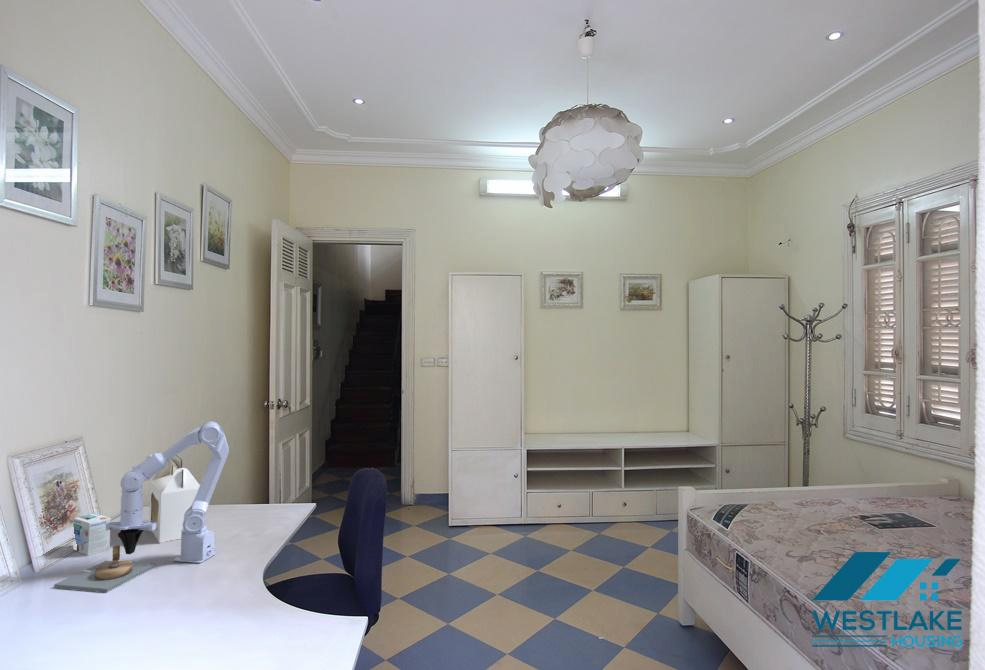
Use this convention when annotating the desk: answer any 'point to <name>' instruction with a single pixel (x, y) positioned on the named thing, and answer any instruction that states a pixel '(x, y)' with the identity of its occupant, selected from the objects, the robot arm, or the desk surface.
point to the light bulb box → (92, 534)
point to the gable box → (171, 499)
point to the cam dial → (114, 567)
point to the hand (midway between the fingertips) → (130, 553)
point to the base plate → (90, 583)
